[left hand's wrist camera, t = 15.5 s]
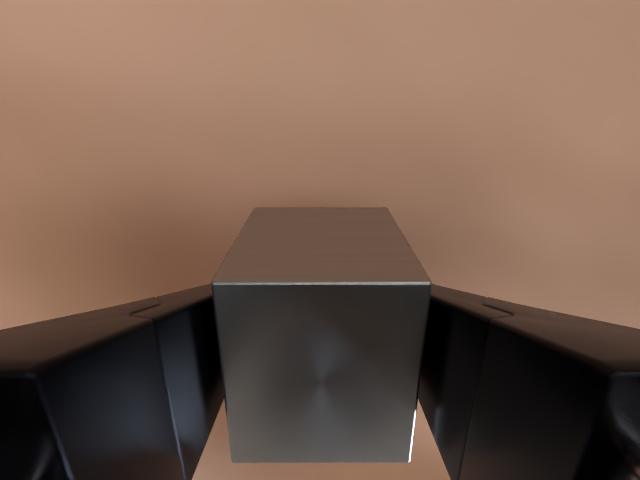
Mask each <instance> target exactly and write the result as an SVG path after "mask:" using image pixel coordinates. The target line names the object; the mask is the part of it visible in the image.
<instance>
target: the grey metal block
mask: <svg viewBox="0 0 640 480" xmlns="http://www.w3.org/2000/svg"><path fill="white" fill-rule="evenodd" d="M431 287H432V282H431V280H430V278H429V277H428V275H427V273H426V272H425V270H424V268H423V267H422V265H421V263H420V262H419V260H418V259H417V257H416V255H415V254H414V252H413V250H412V249H411V247H410V245H409V244H408V242H407V240H406V239H405V237H404V235H403V234H402V232H401V230H400V229H399V227H398V225H397V224H396V222H395V220H394V219H393V217H392V215H391V214H390V212H389V210H388V209H387V208H254V209H253V211H252V213H251V215H250V216H249V218H248V220H247V221H246V223H245V225H244V227H243V228H242V230H241V232H240V233H239V235H238V237H237V239H236V240H235V242H234V244H233V245H232V247H231V249H230V251H229V252H228V254H227V256H226V257H225V259H224V261H223V263H222V264H221V266H220V268H219V269H218V271H217V273H216V275H215V276H214V278H213V280H212V282H211V289H212V297H213V306H214V314H215V323H216V331H217V340H218V348H219V357H220V366H221V374H222V383H223V391H224V400H225V408H226V417H227V425H228V434H229V442H230V451H231V459H232V462H234V463H408V462H410V459H411V451H412V442H413V434H414V426H415V418H416V410H417V402H418V393H419V385H420V377H421V369H422V361H423V353H424V344H425V336H426V328H427V320H428V312H429V304H430V295H431Z"/></svg>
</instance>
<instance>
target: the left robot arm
mask: <svg viewBox="0 0 640 480" xmlns="http://www.w3.org/2000/svg"><path fill="white" fill-rule="evenodd" d="M223 399H224V391H223V383H222V374H221V366H220V357H219V348H218V340H217V331H216V323H215V314H214V306H213V297H212V289H211V284H208V285H204V286H200V287H196V288H192V289H187V290H183V291H179V292H175V293H171V294H167V295H163V296H159V297H156V298H155V297H153V298H149V299H144V300H140V301H136V302H132V303H127V304H123V305H118V306H114V307H109V308H104V309H99V310H95V311H90V312H85V313H80V314H75V315H70V316H66V317H61V318H56V319H51V320H46V321H41V322H37V323H32V324H27V325H22V326H17V327H12V328H7V329H3V330H0V480H192V477H193V475H194V472H195V470H196V467H197V465H198V462H199V460H200V457H201V455H202V452H203V450H204V447H205V445H206V442H207V440H208V437H209V435H210V432H211V430H212V427H213V425H214V422H215V419H216V417H217V414H218V412H219V409H220V407H221V404H222V402H223ZM418 399H419V402H420V404H421V407H422V409H423V412H424V414H425V417H426V419H427V422H428V424H429V427H430V429H431V432H432V434H433V436H434V439H435V441H436V444H437V446H438V449H439V451H440V454H441V456H442V459H443V461H444V464H445V466H446V469H447V471H448V474H449V476H450V479H451V480H640V329H636V328H631V327H626V326H621V325H617V324H612V323H607V322H602V321H597V320H592V319H587V318H582V317H578V316H573V315H568V314H563V313H558V312H553V311H548V310H543V309H539V308H534V307H529V306H525V305H520V304H515V303H511V302H507V301H502V300H498V299H494V298H490V297H488V298H486V297H484V296H479V295H475V294H471V293H467V292H463V291H459V290H455V289H451V288H446V287H442V286H438V285H434V284H432V287H431V295H430V304H429V312H428V320H427V328H426V336H425V344H424V353H423V361H422V369H421V377H420V385H419V393H418Z"/></svg>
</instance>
